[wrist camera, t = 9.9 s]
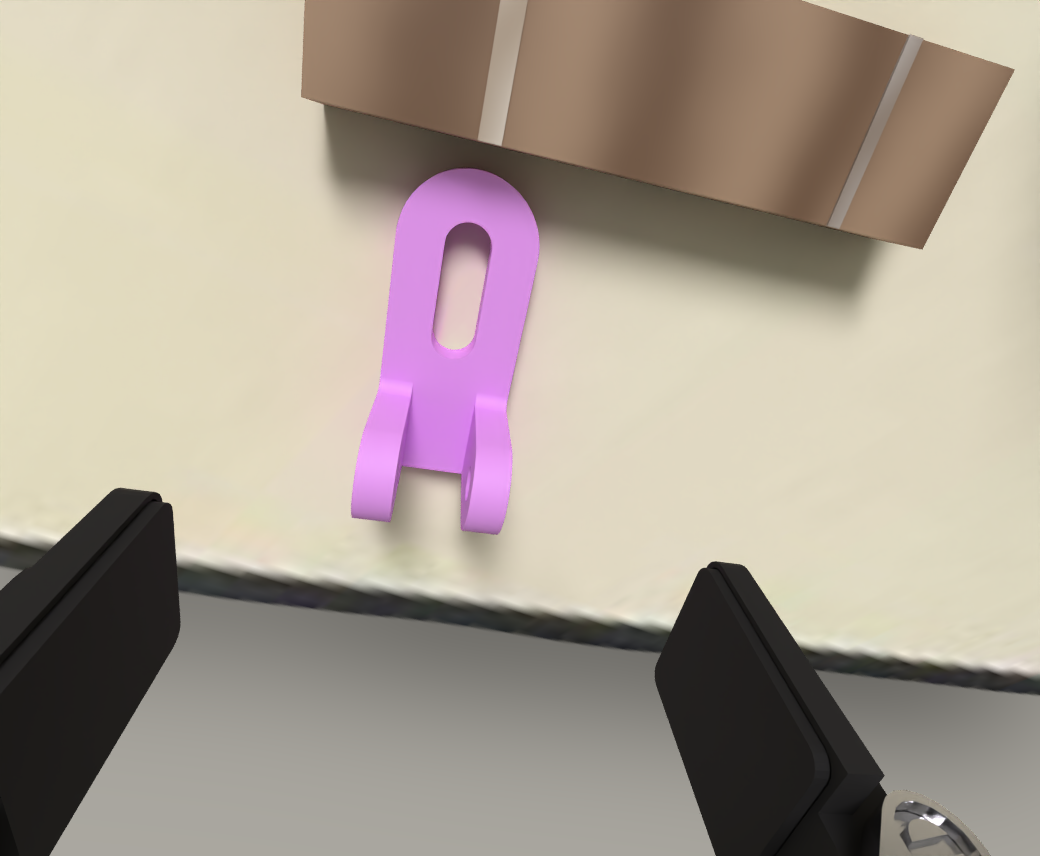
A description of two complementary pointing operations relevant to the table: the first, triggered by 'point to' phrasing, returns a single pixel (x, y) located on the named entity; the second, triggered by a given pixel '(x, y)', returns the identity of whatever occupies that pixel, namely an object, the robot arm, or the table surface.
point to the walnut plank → (677, 96)
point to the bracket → (450, 353)
